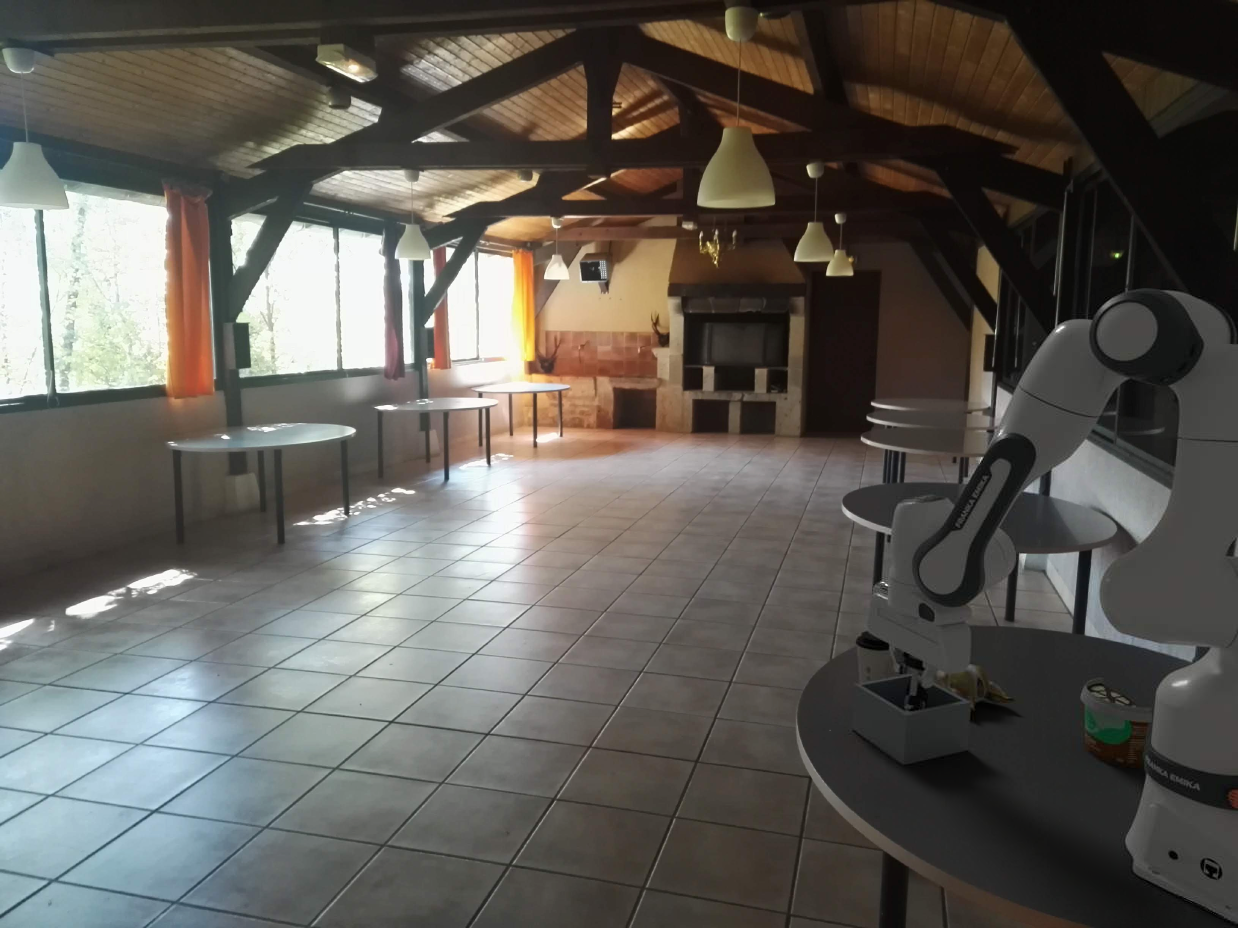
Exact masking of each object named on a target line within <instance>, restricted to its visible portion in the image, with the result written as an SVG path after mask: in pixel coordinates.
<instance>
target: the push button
mask: <svg viewBox="0 0 1238 928" xmlns="http://www.w3.org/2000/svg"><path fill="white" fill-rule="evenodd" d="M903 657H904V658H905V660H904V664H905V665H906V666H908V669H910V670H911V674H912V678H911V681H910V683H909V685H907V688H906V695H907V696H906V697H905V700H904V711H905V712H912V711H917V710H921V709H926V706H927V698H928V693H926V691H927V689H924V687H922V686H920V685H919V684H918V683H917V681H918V674H923V672H924V670H925V668H924V667H923V661H921V660H920V659H918V658H916V657H914V656H912V655H910V654H908V653H906V652H904V651H903Z"/></svg>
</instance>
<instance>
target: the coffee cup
mask: <svg viewBox="0 0 1238 928" xmlns="http://www.w3.org/2000/svg"><path fill="white" fill-rule="evenodd" d="M855 644H856V651H857V652H856V653H857V654H856V655H857V662H858V663H857V664H858V667H857V668H858V675H859V677H858V679H859V683H863V682H868V681H874V680H879V679H885V678H889V672H890V667H891V661H892V656H891V653H890V650H889V643H887V642H885V641H883V640H881V639H879V638H877V637H875V636H873V635H871V634H870V633H869V632H868V630H866V631H863V632H861V634H860V635H859V636H858V637H857V638H856V640H855Z"/></svg>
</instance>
